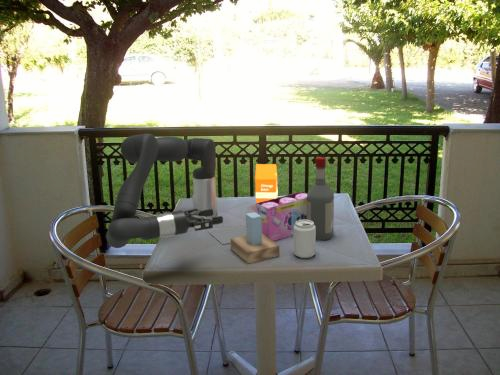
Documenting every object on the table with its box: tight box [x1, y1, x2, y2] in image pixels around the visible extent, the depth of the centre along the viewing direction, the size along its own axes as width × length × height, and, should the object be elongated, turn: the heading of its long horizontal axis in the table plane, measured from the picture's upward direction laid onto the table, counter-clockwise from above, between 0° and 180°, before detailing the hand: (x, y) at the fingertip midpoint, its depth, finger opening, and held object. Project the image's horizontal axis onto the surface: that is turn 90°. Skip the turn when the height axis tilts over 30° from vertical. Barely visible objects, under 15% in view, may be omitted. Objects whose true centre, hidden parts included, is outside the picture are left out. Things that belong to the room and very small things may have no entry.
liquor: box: [306, 156, 335, 242], centre depth 190 cm, size 9×9×30 cm
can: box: [293, 220, 317, 259], centre depth 177 cm, size 8×8×12 cm
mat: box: [208, 224, 247, 246], centre depth 198 cm, size 14×14×1 cm
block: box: [245, 211, 262, 245], centre depth 179 cm, size 4×5×10 cm
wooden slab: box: [230, 234, 280, 265], centre depth 181 cm, size 12×14×4 cm
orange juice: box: [254, 163, 279, 204], centre depth 224 cm, size 8×9×20 cm
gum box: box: [255, 191, 308, 242], centre depth 198 cm, size 24×8×14 cm, turn 124°
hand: (217, 215), depth 172 cm, fingers open, 8 cm apart
